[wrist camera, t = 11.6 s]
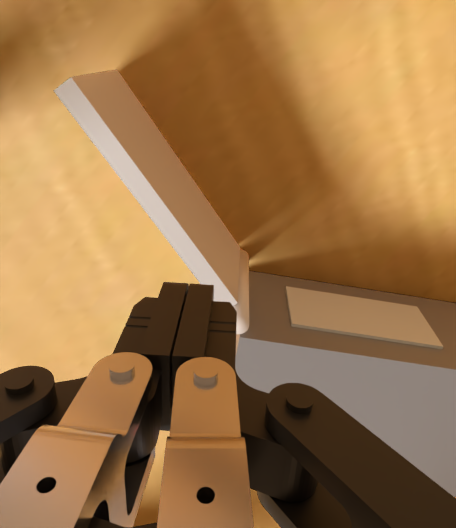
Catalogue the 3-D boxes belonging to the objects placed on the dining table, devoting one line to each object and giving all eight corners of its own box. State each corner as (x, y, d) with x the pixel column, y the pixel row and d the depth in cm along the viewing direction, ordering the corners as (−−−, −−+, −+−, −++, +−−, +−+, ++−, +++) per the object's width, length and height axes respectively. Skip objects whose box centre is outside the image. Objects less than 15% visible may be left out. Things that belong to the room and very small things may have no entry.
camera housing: (432, 409, 36) (485, 512, 28) (220, 378, 35) (213, 473, 27) (484, 305, 31) (565, 392, 23) (242, 267, 31) (240, 343, 23)
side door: (120, 68, 25) (67, 76, 18) (252, 259, 30) (253, 327, 23) (96, 86, 25) (35, 101, 18) (230, 271, 31) (224, 342, 23)
